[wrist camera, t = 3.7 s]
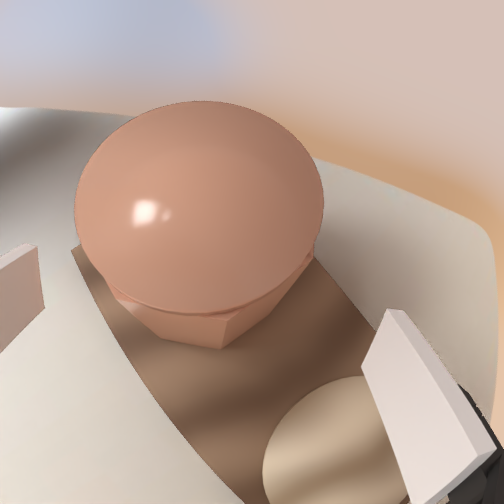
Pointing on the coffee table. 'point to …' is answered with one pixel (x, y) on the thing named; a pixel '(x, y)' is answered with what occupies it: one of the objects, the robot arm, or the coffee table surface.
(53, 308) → the coffee table surface
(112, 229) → the domed lid canister
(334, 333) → the board
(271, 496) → the coaster
